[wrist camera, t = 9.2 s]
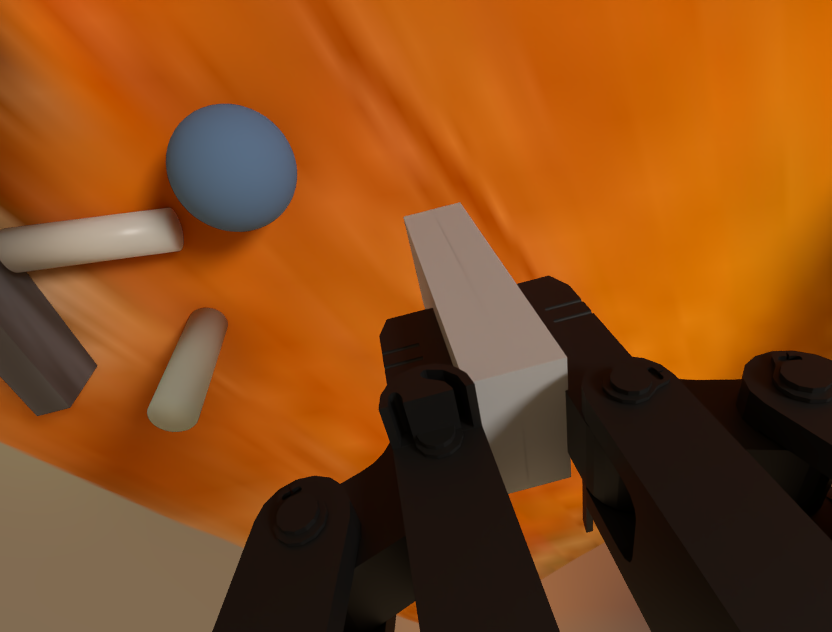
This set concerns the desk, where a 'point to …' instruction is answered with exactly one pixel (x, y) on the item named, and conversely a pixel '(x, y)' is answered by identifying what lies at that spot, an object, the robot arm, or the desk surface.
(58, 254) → the ivory pin
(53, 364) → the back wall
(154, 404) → the sage pin
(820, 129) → the desk surface
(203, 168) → the ball
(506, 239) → the desk surface
